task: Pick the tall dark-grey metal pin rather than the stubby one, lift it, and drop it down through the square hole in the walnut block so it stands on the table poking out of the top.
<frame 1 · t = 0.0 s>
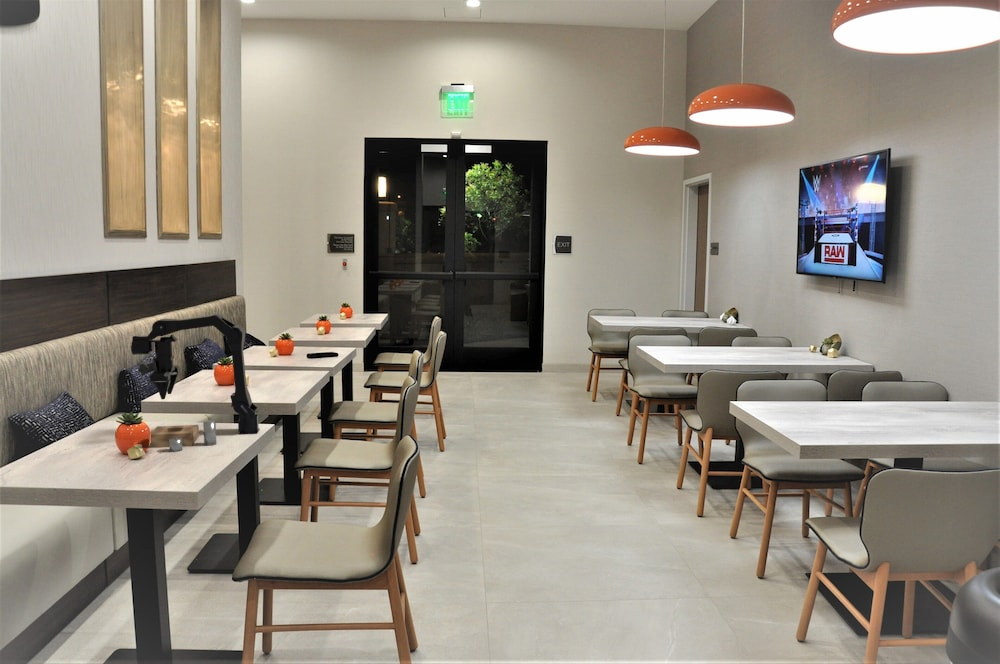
hand: (166, 396, 277), 14 cm above the table, tool pointing down, fingers open, 9 cm apart
tall pin: (210, 444, 268), on the table
short pin: (176, 450, 260), on the table
hole block: (174, 442, 270), on the table
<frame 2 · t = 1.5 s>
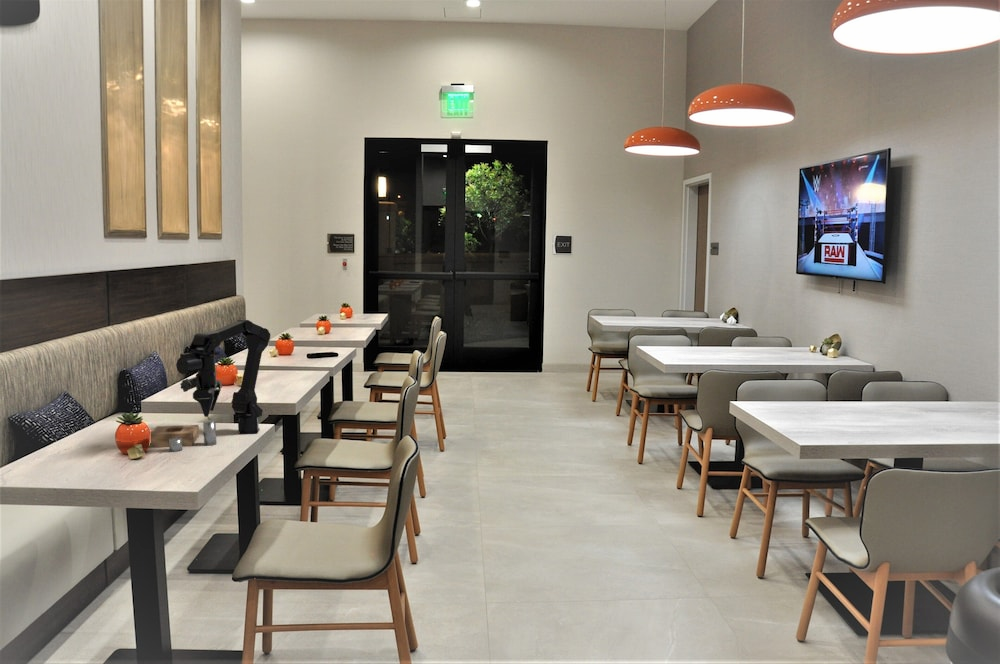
hand: (209, 413, 266), 11 cm above the table, tool pointing down, fingers open, 9 cm apart
nothing on the table moved.
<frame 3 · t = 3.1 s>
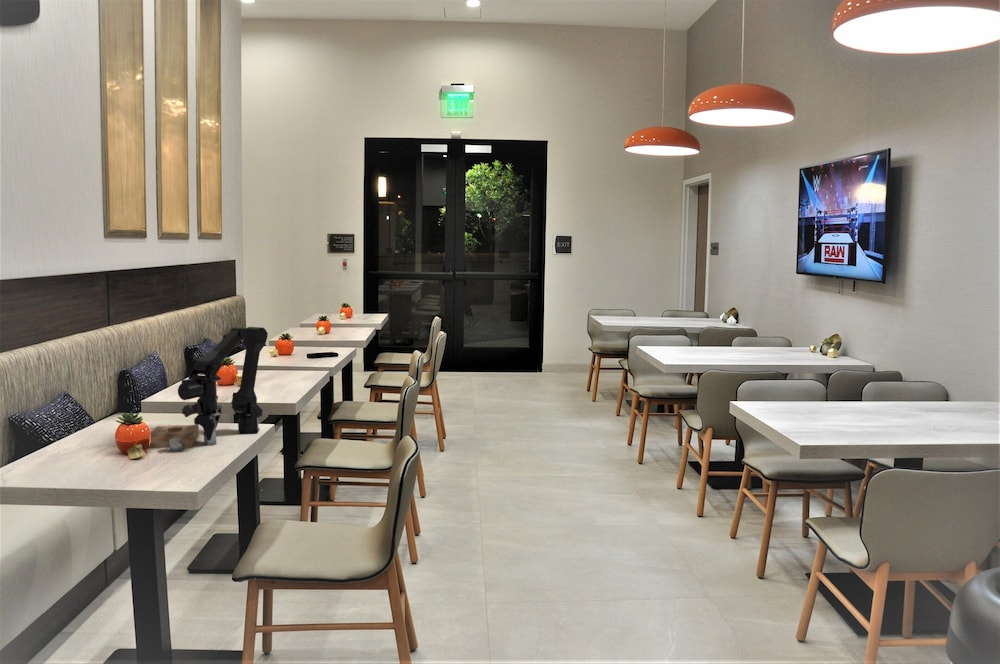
hand: (210, 438, 267), 2 cm above the table, tool pointing down, fingers closed on tall pin, 4 cm apart
tall pin: (210, 444, 268), on the table, touching gripper
everything else where it was.
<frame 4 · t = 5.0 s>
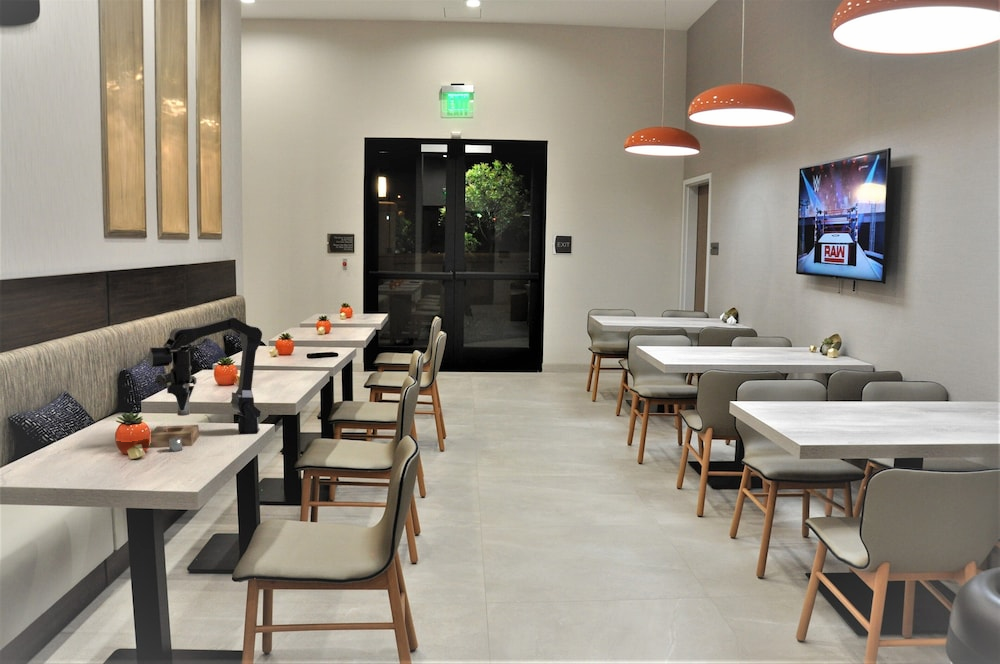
hand: (183, 408, 267), 12 cm above the table, tool pointing down, fingers closed on tall pin, 4 cm apart
tall pin: (183, 414, 268), point 10 cm above the table, touching gripper
everything else where it was.
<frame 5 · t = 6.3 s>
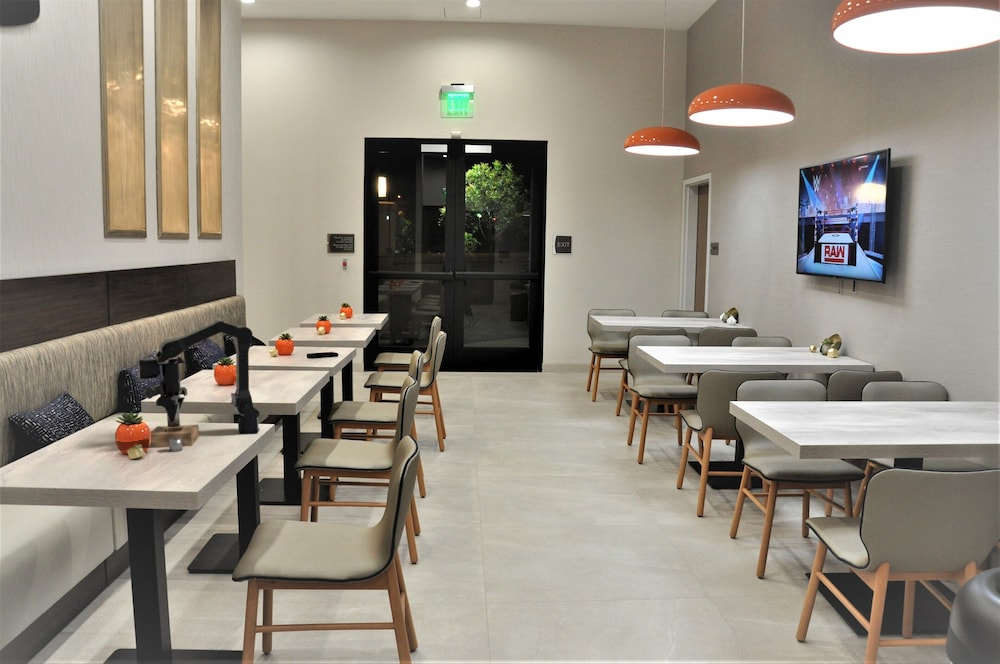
hand: (173, 420, 269), 8 cm above the table, tool pointing down, fingers closed on tall pin, 4 cm apart
tall pin: (173, 425, 270), point 6 cm above the table, touching gripper
everything else where it was.
when the fingers open (5 cm above the table, at t = 7.3 s): tall pin drops 3 cm, resting in hole block.
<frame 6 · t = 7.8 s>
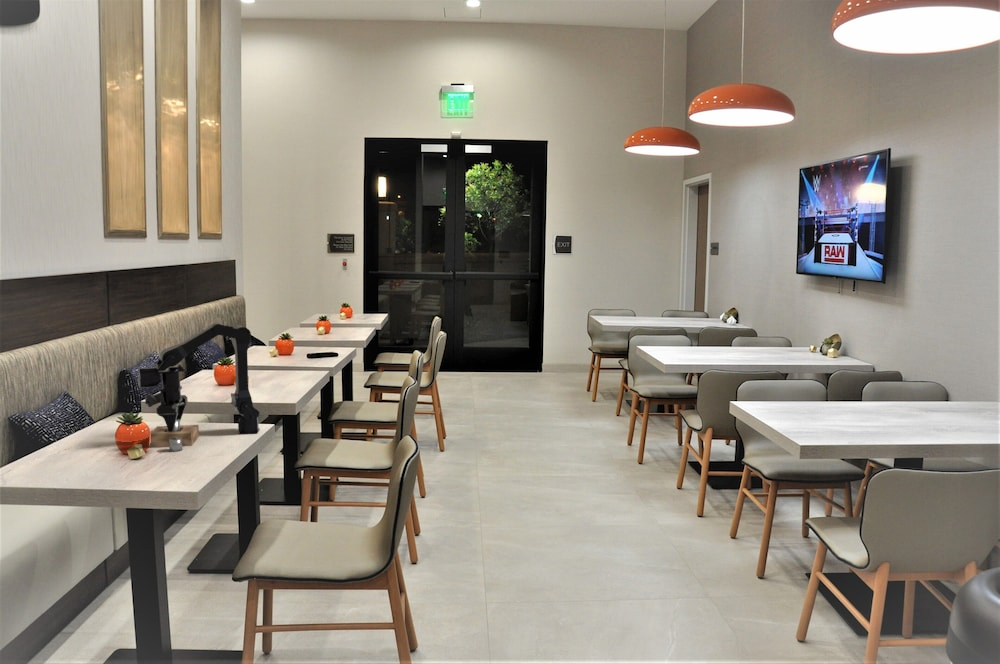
hand: (173, 428, 270), 5 cm above the table, tool pointing down, fingers open, 9 cm apart
tall pin: (174, 442, 270), resting in hole block
everything else where it was.
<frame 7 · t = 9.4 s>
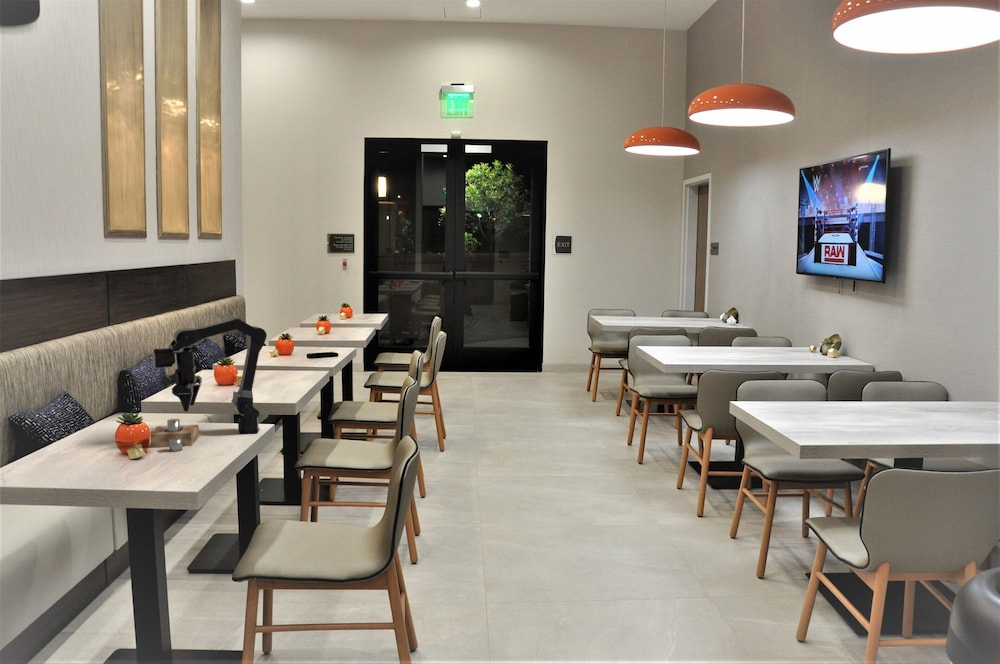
hand: (189, 408, 272), 12 cm above the table, tool pointing down, fingers open, 9 cm apart
nothing on the table moved.
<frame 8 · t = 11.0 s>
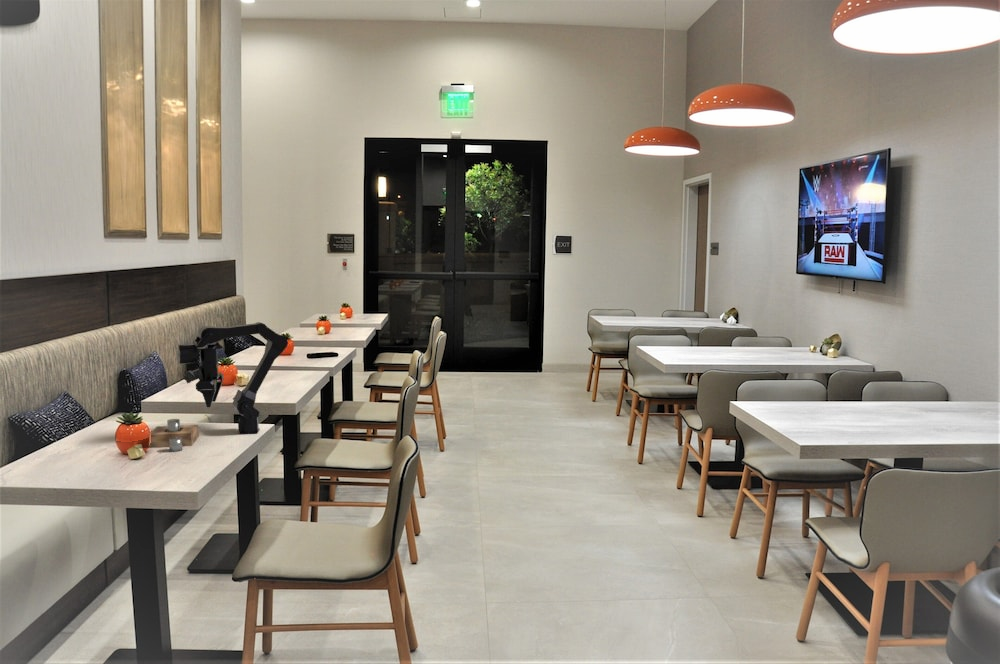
hand: (211, 404, 276), 12 cm above the table, tool pointing down, fingers open, 9 cm apart
nothing on the table moved.
at the end: tall pin 0.0 cm off-centre on the hole block, point 0.0 cm above the hole block's base; tall pin tilted 0°; short pin moved 0.1 cm from its start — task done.
